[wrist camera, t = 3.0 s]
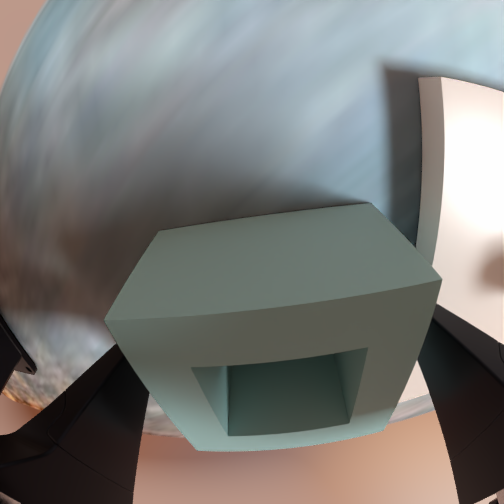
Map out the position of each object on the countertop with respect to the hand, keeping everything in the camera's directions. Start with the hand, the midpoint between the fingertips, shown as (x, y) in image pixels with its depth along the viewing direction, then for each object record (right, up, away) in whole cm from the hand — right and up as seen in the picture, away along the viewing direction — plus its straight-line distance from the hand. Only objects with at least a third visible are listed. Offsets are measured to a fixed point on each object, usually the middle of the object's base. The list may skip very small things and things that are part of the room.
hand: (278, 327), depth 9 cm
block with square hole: (0, +1, +1) cm, 1 cm away
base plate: (+11, +2, 0) cm, 11 cm away
